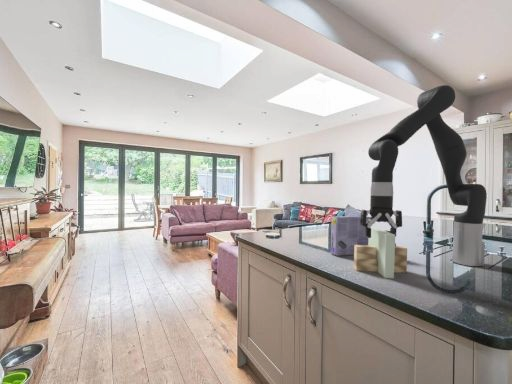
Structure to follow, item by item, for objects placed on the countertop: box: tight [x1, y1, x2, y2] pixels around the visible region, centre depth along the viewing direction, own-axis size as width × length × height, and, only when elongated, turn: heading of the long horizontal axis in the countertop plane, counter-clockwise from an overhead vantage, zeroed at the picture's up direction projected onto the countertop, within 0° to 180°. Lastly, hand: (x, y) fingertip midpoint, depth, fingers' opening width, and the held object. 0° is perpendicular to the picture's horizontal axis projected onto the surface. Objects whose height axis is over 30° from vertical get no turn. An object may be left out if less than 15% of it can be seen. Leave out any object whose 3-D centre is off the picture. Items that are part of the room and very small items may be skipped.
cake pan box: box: [330, 215, 370, 257], centre depth 118 cm, size 19×5×18 cm, turn 108°
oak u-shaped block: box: [353, 245, 408, 274], centre depth 95 cm, size 18×3×9 cm, turn 86°
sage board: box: [368, 226, 396, 279], centre depth 95 cm, size 3×16×15 cm, turn 176°
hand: (380, 237), depth 94 cm, fingers open, 8 cm apart
